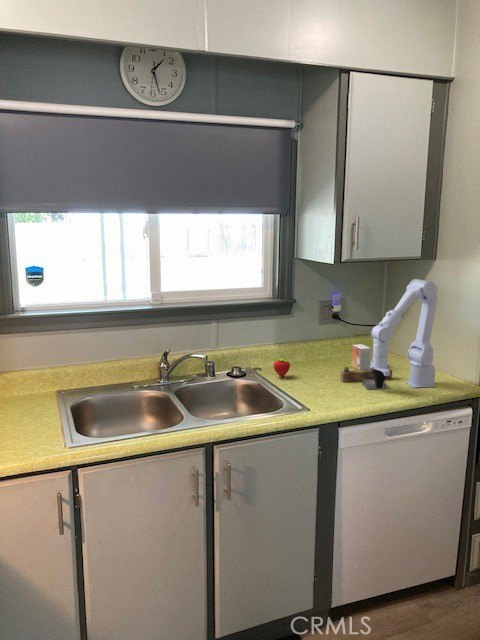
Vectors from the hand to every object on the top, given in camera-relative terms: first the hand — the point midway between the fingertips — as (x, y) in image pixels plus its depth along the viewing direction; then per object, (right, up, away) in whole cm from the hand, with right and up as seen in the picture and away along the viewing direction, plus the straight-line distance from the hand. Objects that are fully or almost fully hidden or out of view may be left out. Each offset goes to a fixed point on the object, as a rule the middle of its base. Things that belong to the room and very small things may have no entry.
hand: (379, 387), depth 216 cm
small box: (0, +5, +31) cm, 31 cm away
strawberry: (-38, +2, +19) cm, 42 cm away
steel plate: (-1, -1, +5) cm, 5 cm away
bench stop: (-2, +2, +14) cm, 14 cm away
